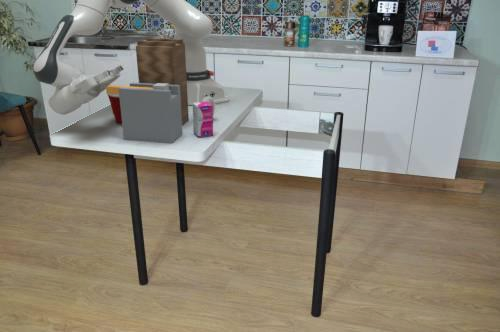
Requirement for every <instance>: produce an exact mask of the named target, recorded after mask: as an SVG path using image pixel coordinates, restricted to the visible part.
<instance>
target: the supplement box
mask: <svg viewBox="0 0 500 332" xmlns="http://www.w3.org/2000/svg"><path fill="white" fill-rule="evenodd" d="M213 117H214V115H213V106H212V105H211V104H210V103H209V102H197V103H193V105H192V124H193V125H192V126H193V127H192V128H193V131H192V132H193V135H195V136H196V137H197V138H198V139H199V138H204V137H205V138H206V137H211V136H212V137H213V136H214V118H213Z"/></svg>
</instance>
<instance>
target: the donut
mask: <svg viewBox="0 0 500 332" xmlns="http://www.w3.org/2000/svg"><path fill="white" fill-rule="evenodd" d="M201 102H209V103H210V104H211V105H212V106H213V116H214V115H215V107H216V106H215V105H216V104H214V101H213V99H212V98H211V97H209V96H207V97H204V98H203V99H202V101H201Z"/></svg>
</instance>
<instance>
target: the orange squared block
mask: <svg viewBox="0 0 500 332" xmlns="http://www.w3.org/2000/svg"><path fill="white" fill-rule="evenodd" d="M121 87H123V88H141V89H158V90H169V84H166V83H157V84H155V85H153V88H151V87H133V86H130V85H129V86H128V85H115V84H114V85H112V84H110V85H108V86H106V89H105V90H106V92H107V93H106V95H107V94H118V95H119V88H121Z"/></svg>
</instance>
